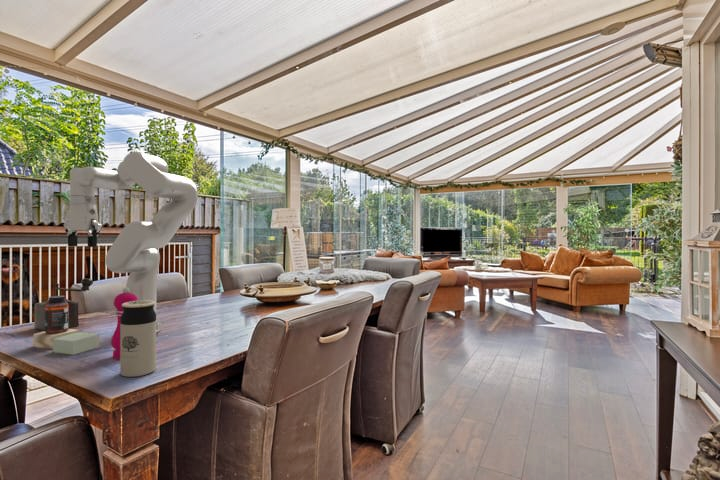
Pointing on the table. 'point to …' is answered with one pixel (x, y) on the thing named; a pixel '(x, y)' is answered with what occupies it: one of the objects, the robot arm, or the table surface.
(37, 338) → the maple block
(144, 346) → the travel mug
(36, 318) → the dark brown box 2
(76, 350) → the green block
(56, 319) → the supplement bottle
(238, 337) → the table surface
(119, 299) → the pepper mill
